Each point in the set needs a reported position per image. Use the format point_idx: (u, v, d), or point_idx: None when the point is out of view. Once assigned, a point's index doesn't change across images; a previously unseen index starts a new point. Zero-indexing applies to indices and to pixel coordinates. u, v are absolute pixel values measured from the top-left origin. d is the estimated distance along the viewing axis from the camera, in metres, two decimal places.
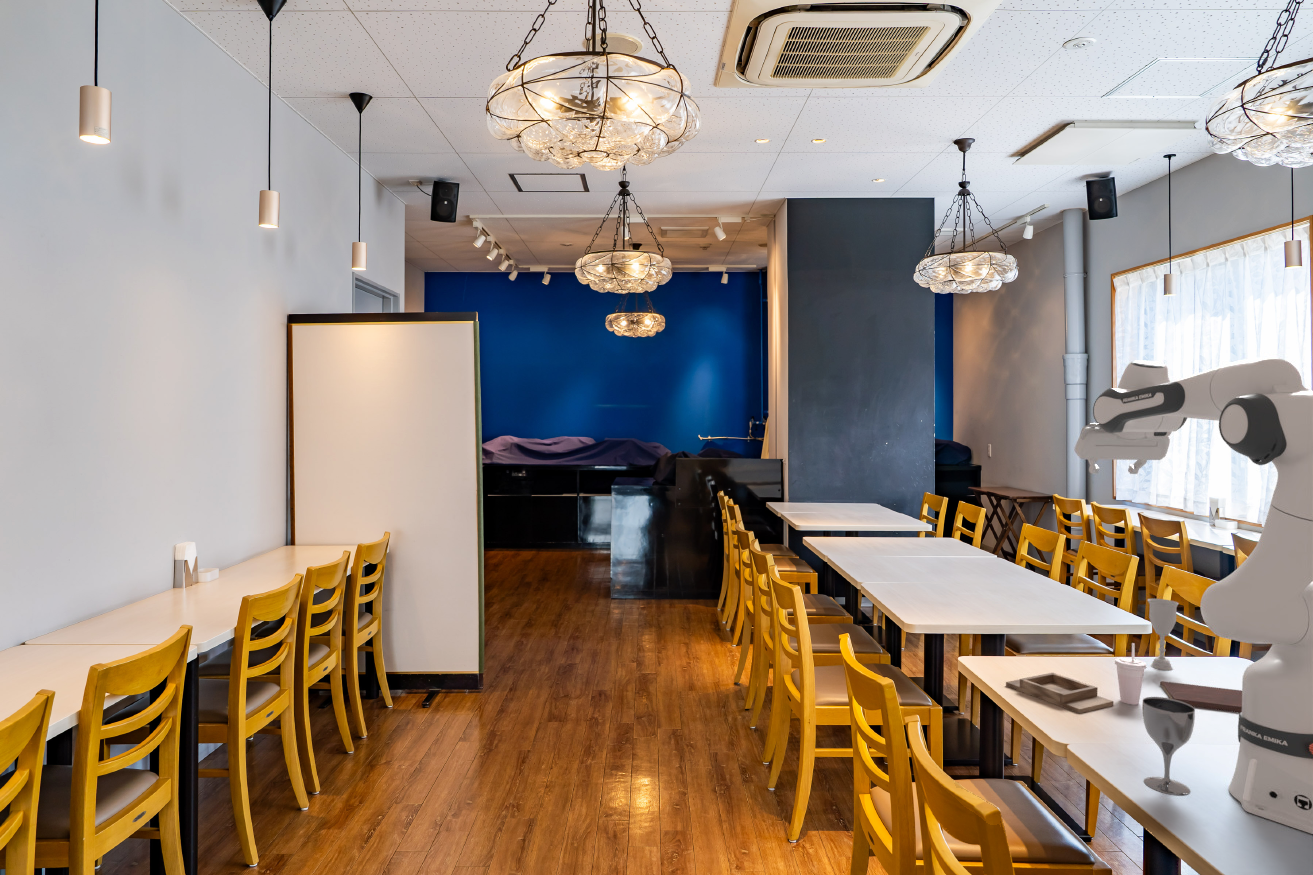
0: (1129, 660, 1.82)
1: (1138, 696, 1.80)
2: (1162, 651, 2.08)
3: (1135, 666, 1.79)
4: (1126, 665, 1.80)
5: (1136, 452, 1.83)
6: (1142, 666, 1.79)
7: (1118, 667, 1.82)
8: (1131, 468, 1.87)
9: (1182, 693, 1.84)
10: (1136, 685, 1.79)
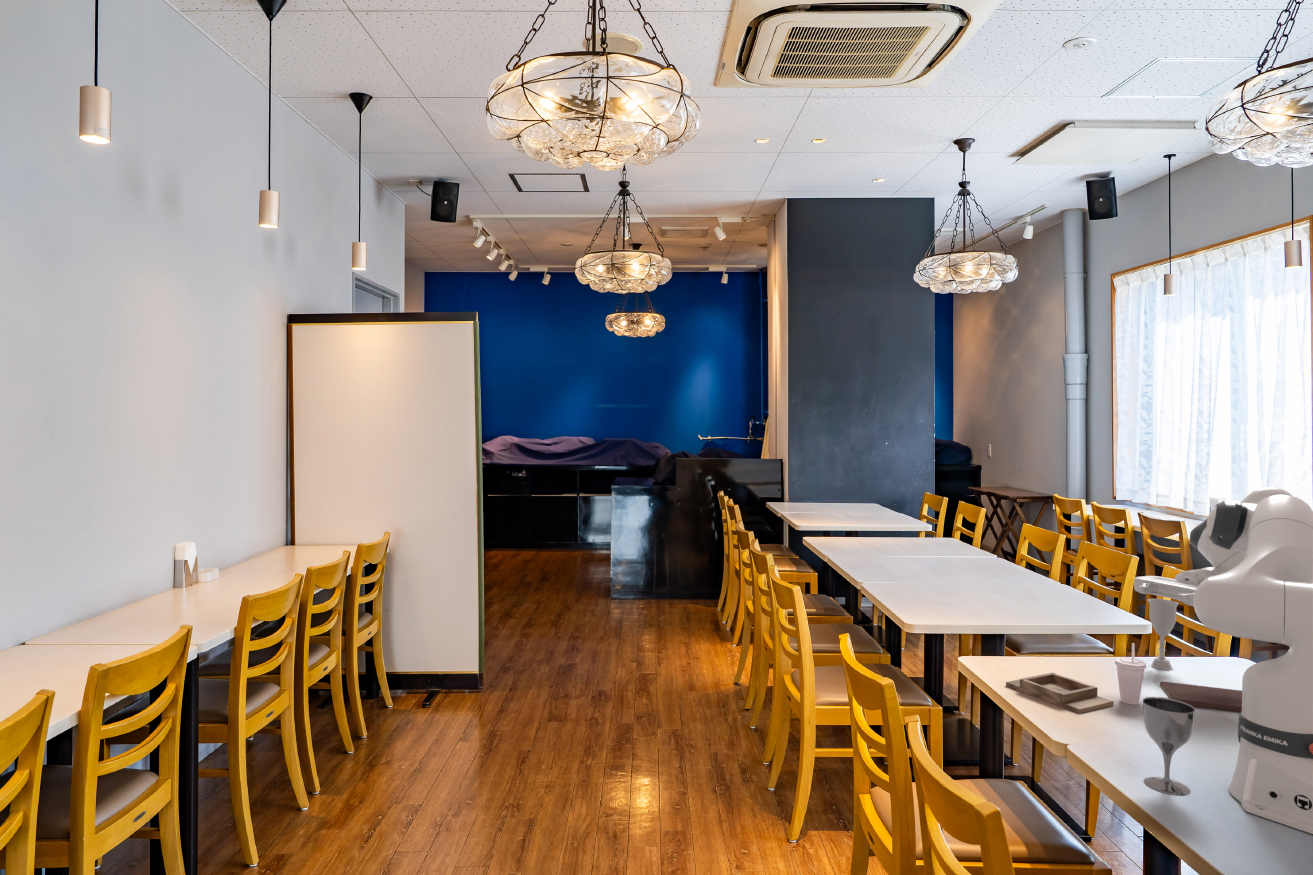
0: (1129, 660, 1.82)
1: (1138, 696, 1.80)
2: (1162, 651, 2.08)
3: (1135, 666, 1.79)
4: (1126, 665, 1.80)
5: (1190, 585, 1.87)
6: (1142, 666, 1.79)
7: (1118, 667, 1.82)
8: None
9: (1182, 693, 1.84)
10: (1136, 685, 1.79)
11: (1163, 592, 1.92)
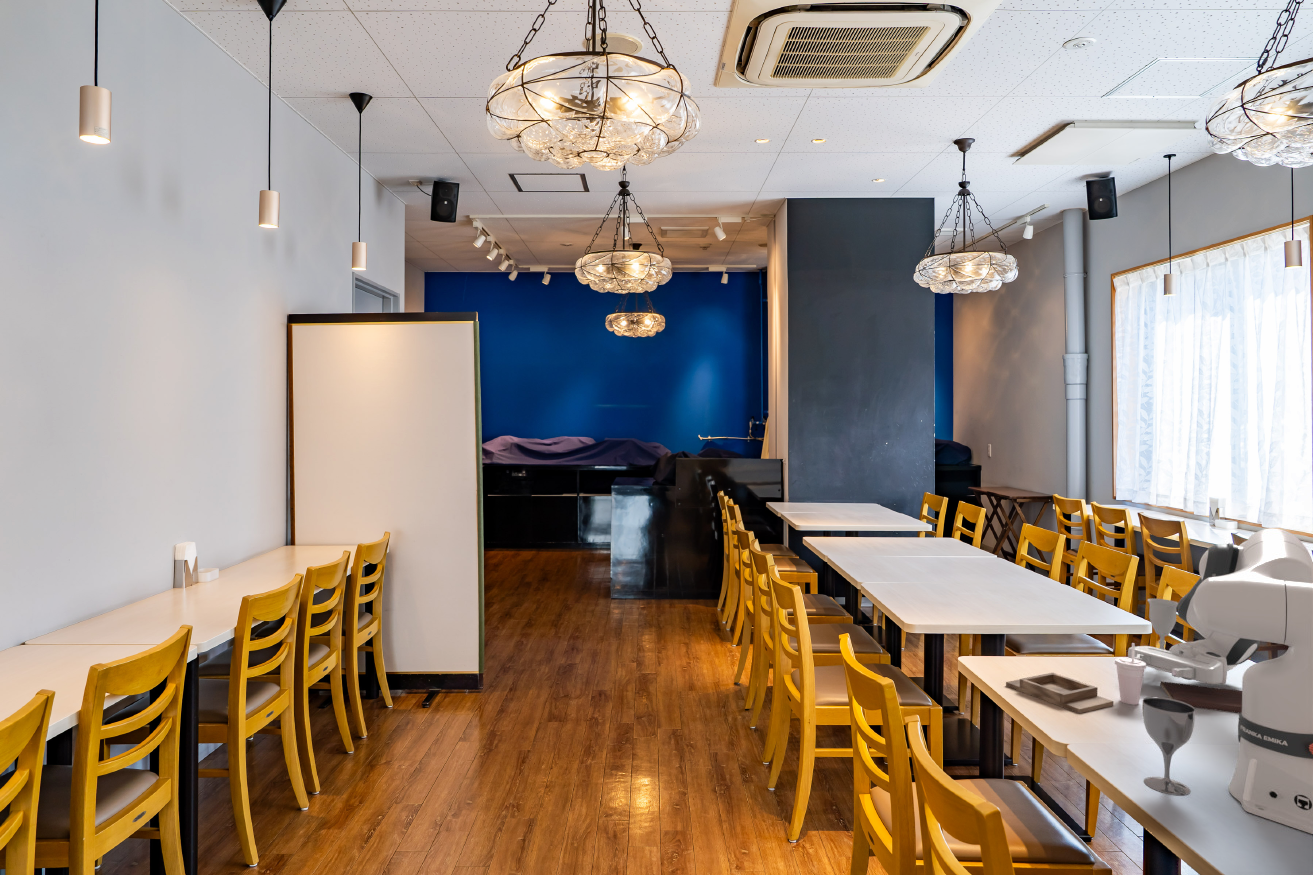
0: (1129, 660, 1.82)
1: (1138, 696, 1.80)
2: None
3: (1135, 666, 1.79)
4: (1126, 665, 1.80)
5: (1184, 659, 1.86)
6: (1142, 666, 1.79)
7: (1118, 667, 1.82)
8: None
9: (1182, 693, 1.83)
10: (1136, 685, 1.79)
11: (1157, 664, 1.90)
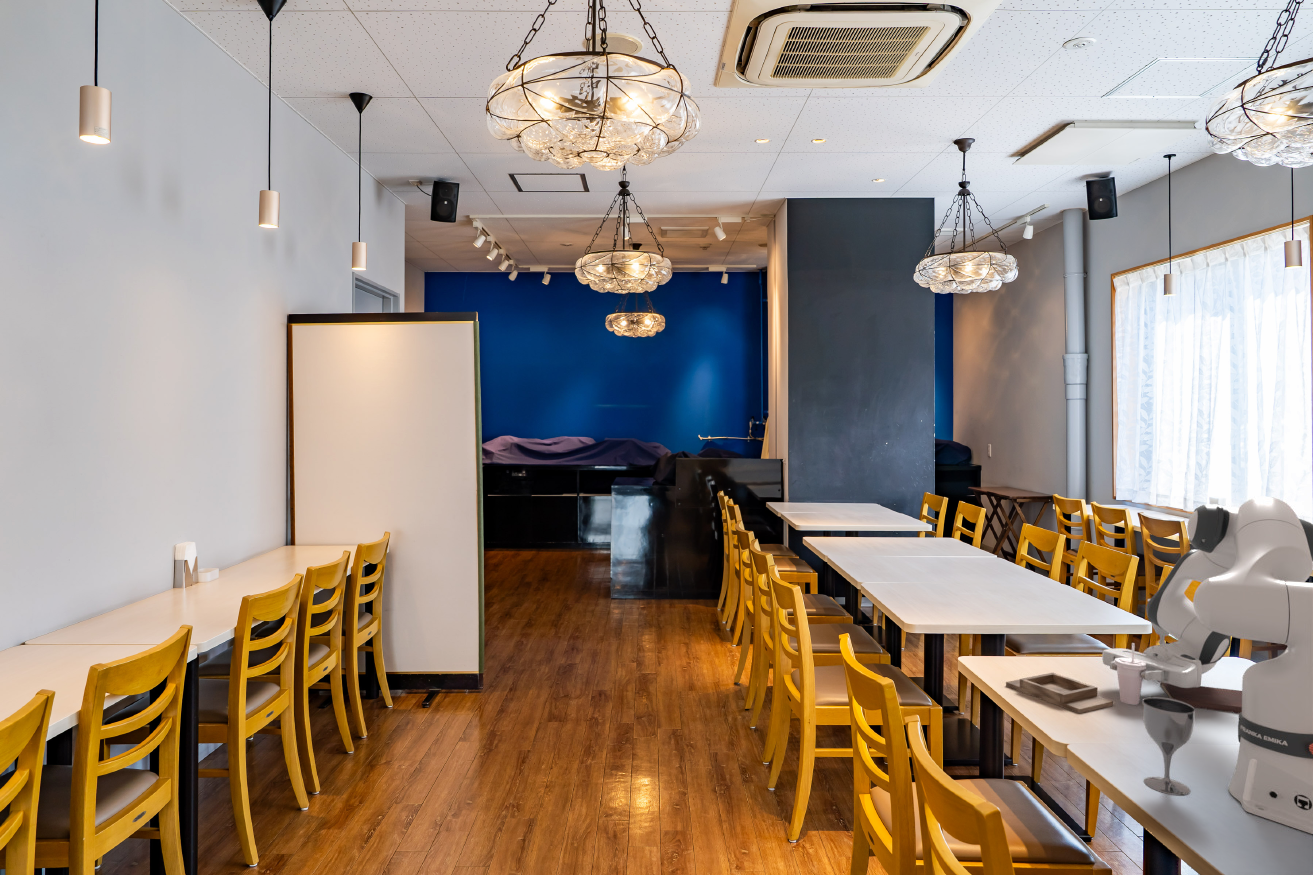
0: (1129, 660, 1.82)
1: (1138, 696, 1.80)
2: None
3: (1135, 666, 1.79)
4: (1126, 665, 1.80)
5: (1158, 662, 1.82)
6: (1142, 666, 1.79)
7: (1118, 667, 1.82)
8: None
9: (1182, 694, 1.83)
10: (1136, 685, 1.79)
11: None
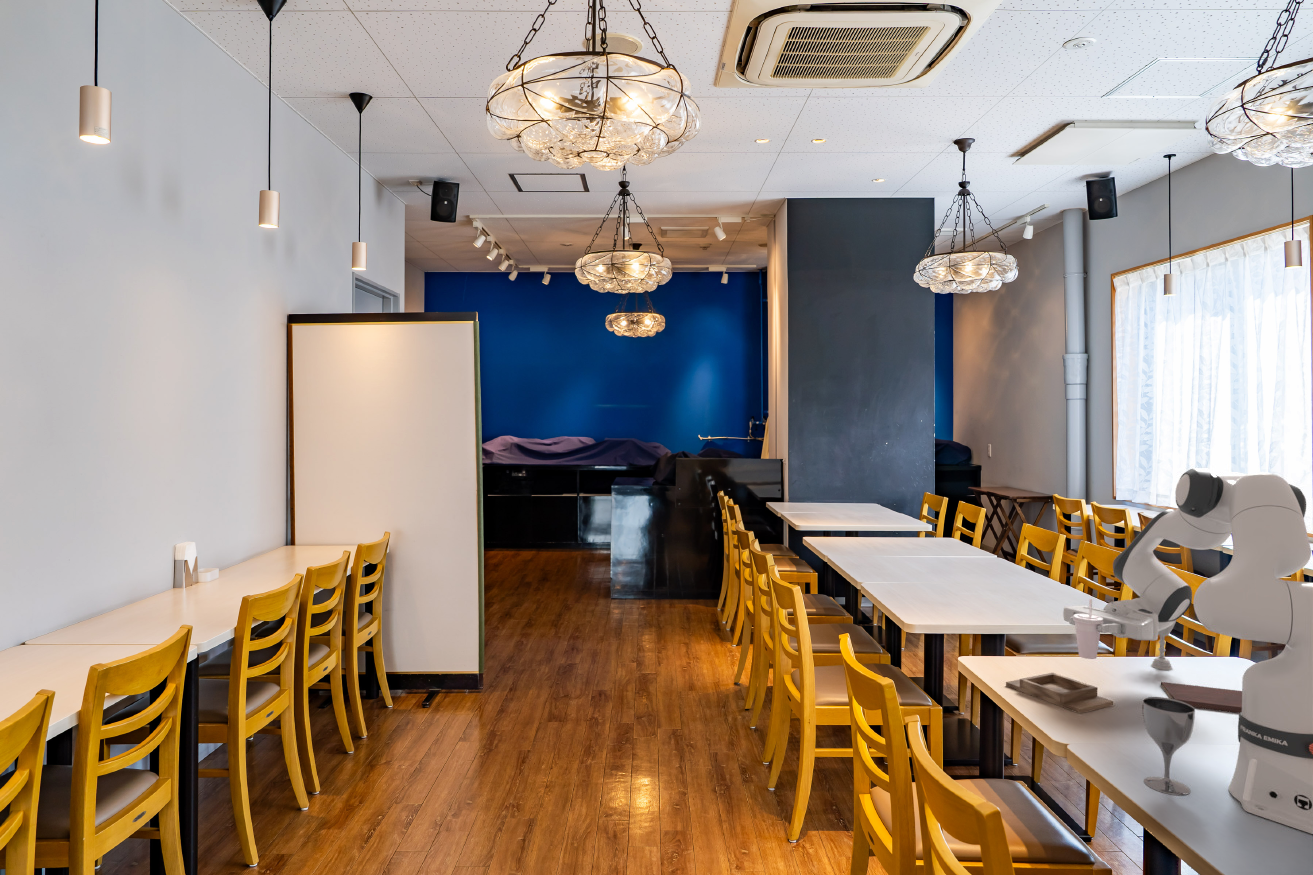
0: (1087, 616, 1.84)
1: (1095, 651, 1.82)
2: (1162, 651, 2.08)
3: (1092, 621, 1.81)
4: (1083, 620, 1.82)
5: (1116, 617, 1.84)
6: (1099, 621, 1.81)
7: (1076, 623, 1.84)
8: None
9: (1183, 694, 1.83)
10: (1094, 640, 1.82)
11: None
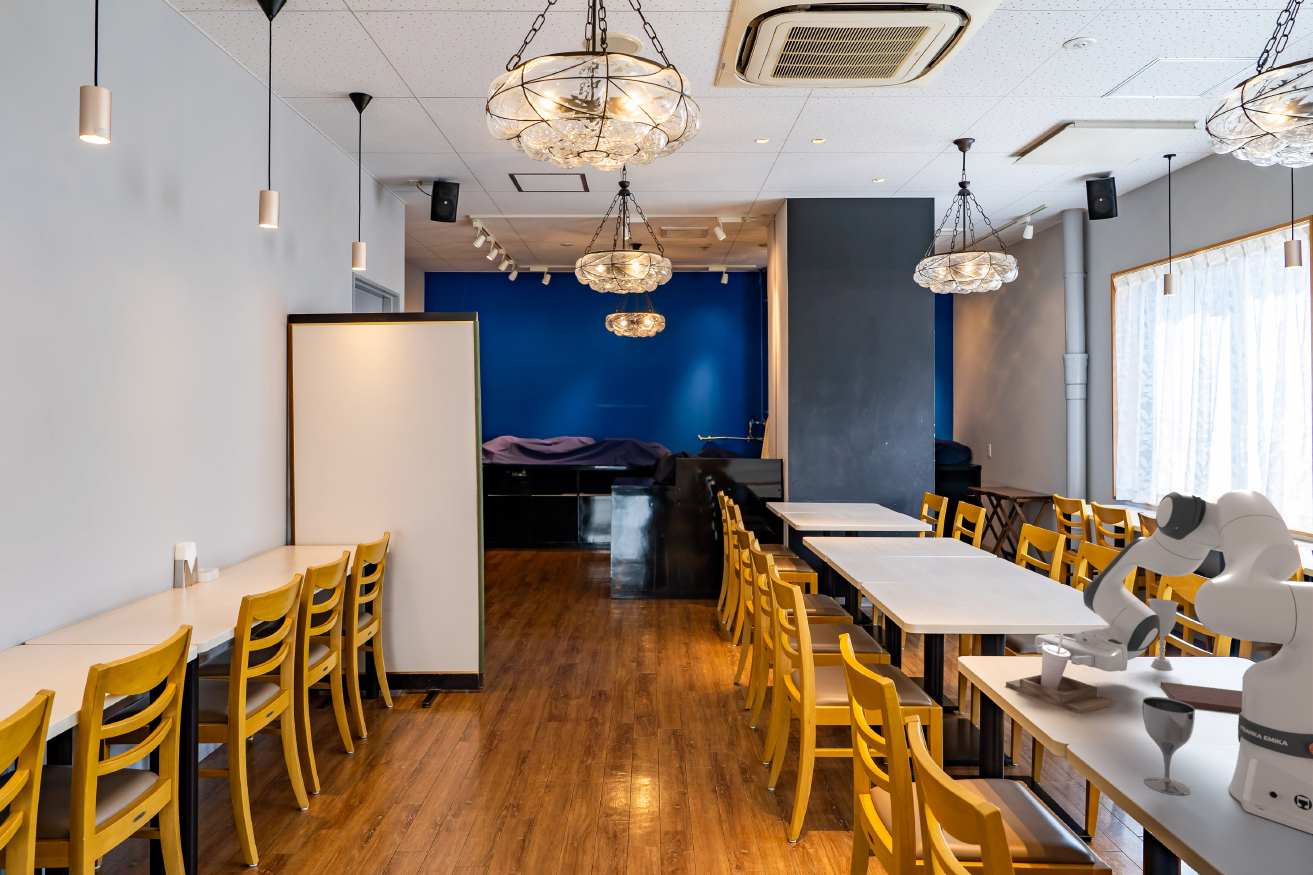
0: (1055, 649, 1.86)
1: (1058, 683, 1.86)
2: (1162, 651, 2.08)
3: (1060, 656, 1.83)
4: (1051, 654, 1.84)
5: (1086, 647, 1.86)
6: (1066, 657, 1.84)
7: (1044, 655, 1.86)
8: None
9: (1183, 694, 1.83)
10: (1058, 673, 1.85)
11: None
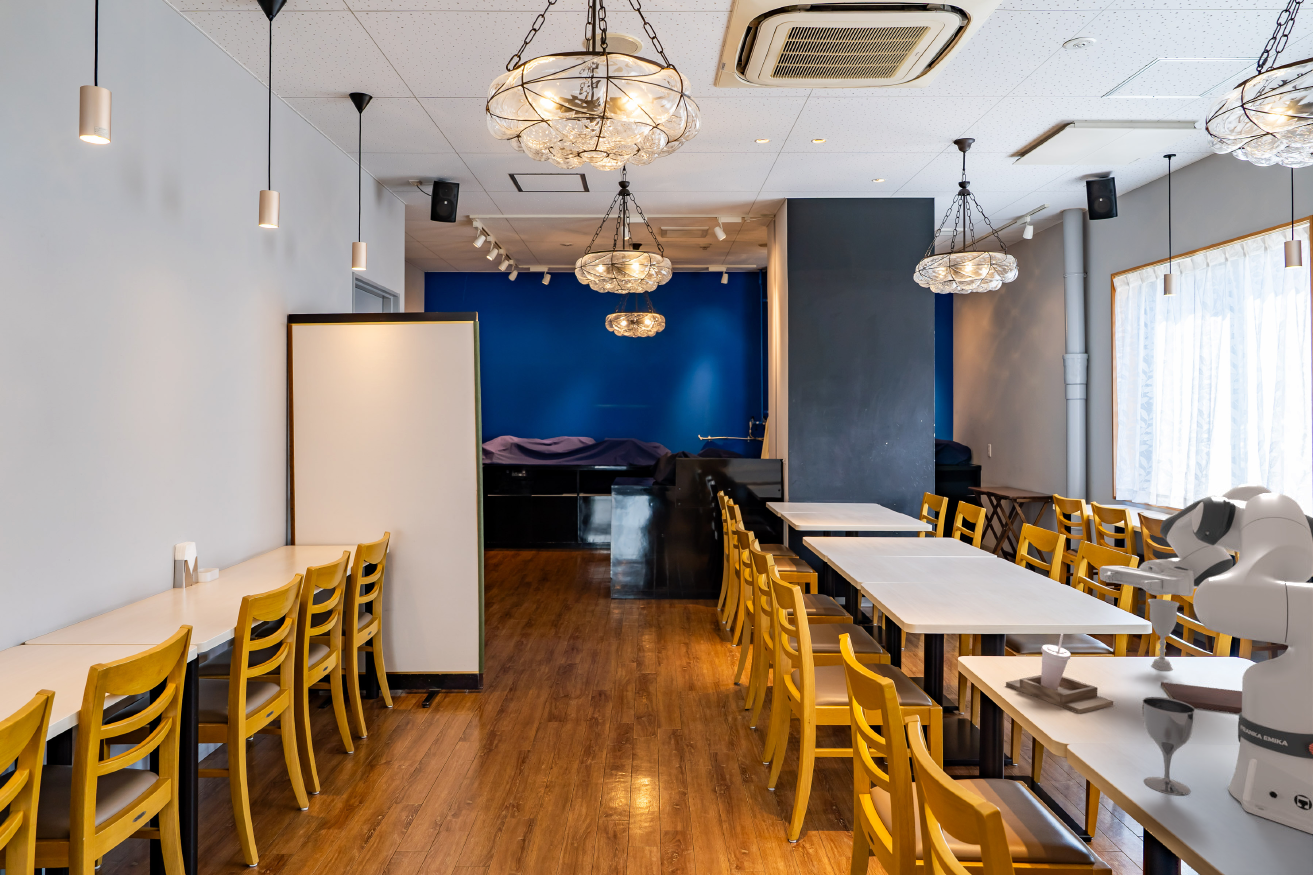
0: (1055, 649, 1.86)
1: (1058, 683, 1.86)
2: (1162, 652, 2.07)
3: (1060, 656, 1.83)
4: (1051, 654, 1.84)
5: (1152, 574, 1.91)
6: (1066, 657, 1.84)
7: (1043, 655, 1.86)
8: None
9: (1183, 694, 1.83)
10: (1058, 673, 1.85)
11: (1127, 580, 1.95)
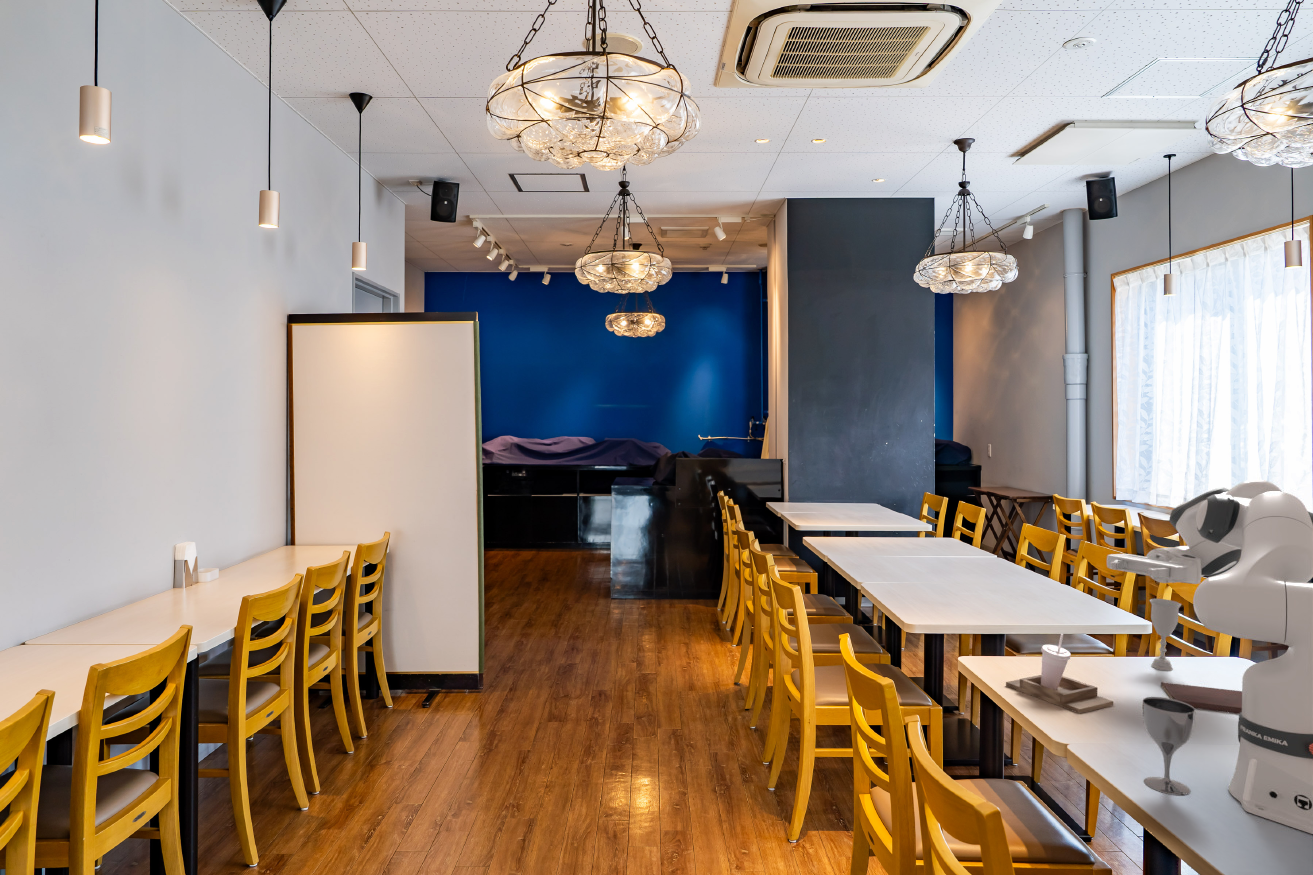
0: (1055, 649, 1.86)
1: (1058, 683, 1.86)
2: (1163, 651, 2.07)
3: (1060, 656, 1.83)
4: (1051, 654, 1.84)
5: (1160, 561, 1.91)
6: (1066, 657, 1.84)
7: (1043, 655, 1.86)
8: None
9: (1183, 694, 1.83)
10: (1058, 673, 1.85)
11: (1134, 568, 1.95)
